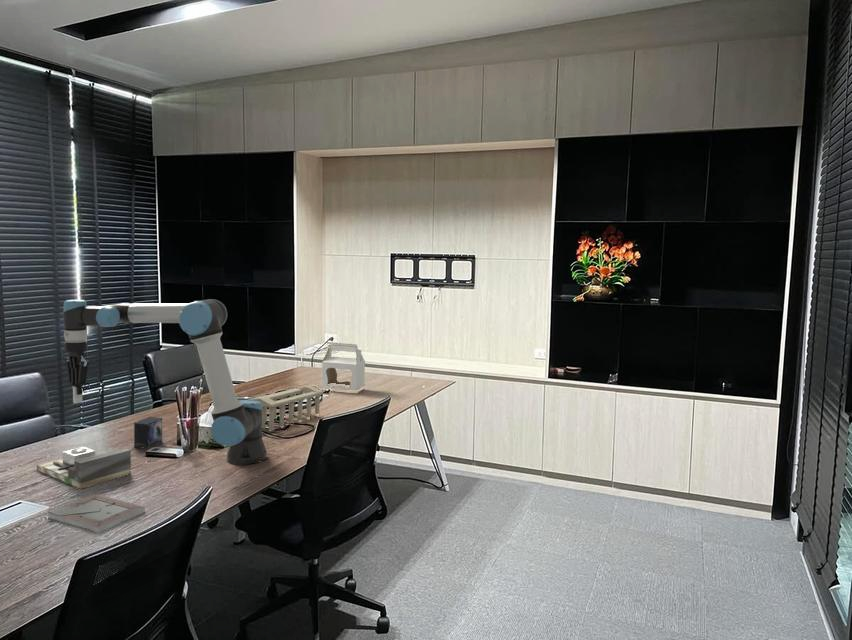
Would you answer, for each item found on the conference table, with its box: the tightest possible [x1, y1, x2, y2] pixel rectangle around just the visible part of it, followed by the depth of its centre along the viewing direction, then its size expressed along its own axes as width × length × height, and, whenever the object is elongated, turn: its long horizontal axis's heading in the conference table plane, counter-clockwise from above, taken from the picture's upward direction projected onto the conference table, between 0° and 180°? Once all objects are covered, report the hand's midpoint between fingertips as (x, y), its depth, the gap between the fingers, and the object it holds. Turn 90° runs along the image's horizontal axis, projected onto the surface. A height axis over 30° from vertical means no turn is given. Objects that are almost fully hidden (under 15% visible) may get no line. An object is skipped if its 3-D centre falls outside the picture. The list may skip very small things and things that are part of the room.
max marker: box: [68, 467, 75, 479], centre depth 218 cm, size 4×2×3 cm, turn 57°
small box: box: [133, 416, 163, 449], centre depth 262 cm, size 11×6×10 cm, turn 168°
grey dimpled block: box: [58, 446, 96, 471], centre depth 228 cm, size 8×13×5 cm, turn 147°
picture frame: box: [47, 493, 146, 533], centre depth 194 cm, size 16×2×22 cm
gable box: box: [321, 342, 366, 390], centre depth 371 cm, size 22×13×28 cm, turn 75°
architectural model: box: [246, 385, 324, 431], centre depth 303 cm, size 35×15×15 cm, turn 148°
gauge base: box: [36, 447, 132, 490], centre depth 229 cm, size 30×18×9 cm, turn 57°
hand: (77, 402), depth 239 cm, fingers closed
